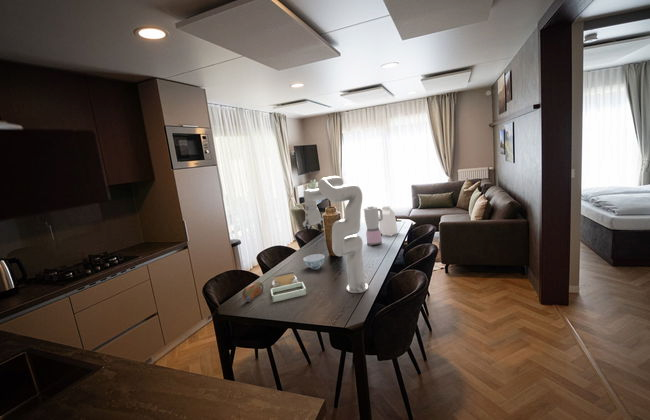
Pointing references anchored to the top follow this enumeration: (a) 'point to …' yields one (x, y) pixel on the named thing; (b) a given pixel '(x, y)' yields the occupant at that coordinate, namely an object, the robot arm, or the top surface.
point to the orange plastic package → (252, 291)
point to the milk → (388, 222)
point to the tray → (288, 294)
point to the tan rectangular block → (284, 277)
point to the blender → (373, 225)
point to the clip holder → (285, 284)
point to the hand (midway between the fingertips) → (314, 232)
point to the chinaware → (314, 261)
